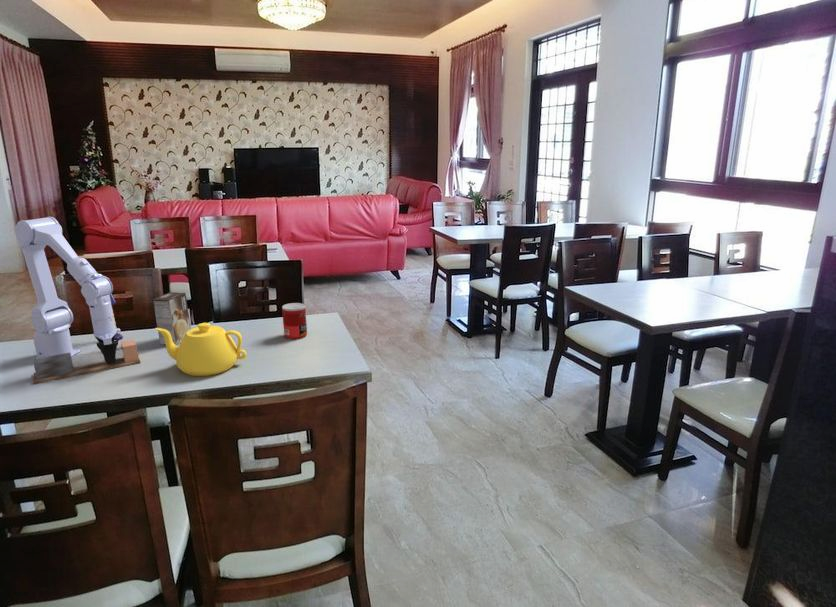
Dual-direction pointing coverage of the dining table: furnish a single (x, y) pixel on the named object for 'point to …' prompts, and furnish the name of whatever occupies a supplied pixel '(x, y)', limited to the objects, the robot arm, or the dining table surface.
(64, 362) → the brown wooden bar
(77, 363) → the grey banded bar
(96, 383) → the dining table surface
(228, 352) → the teapot
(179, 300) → the coffee box
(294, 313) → the canned food
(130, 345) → the peach-orange block
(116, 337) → the toy lamp
